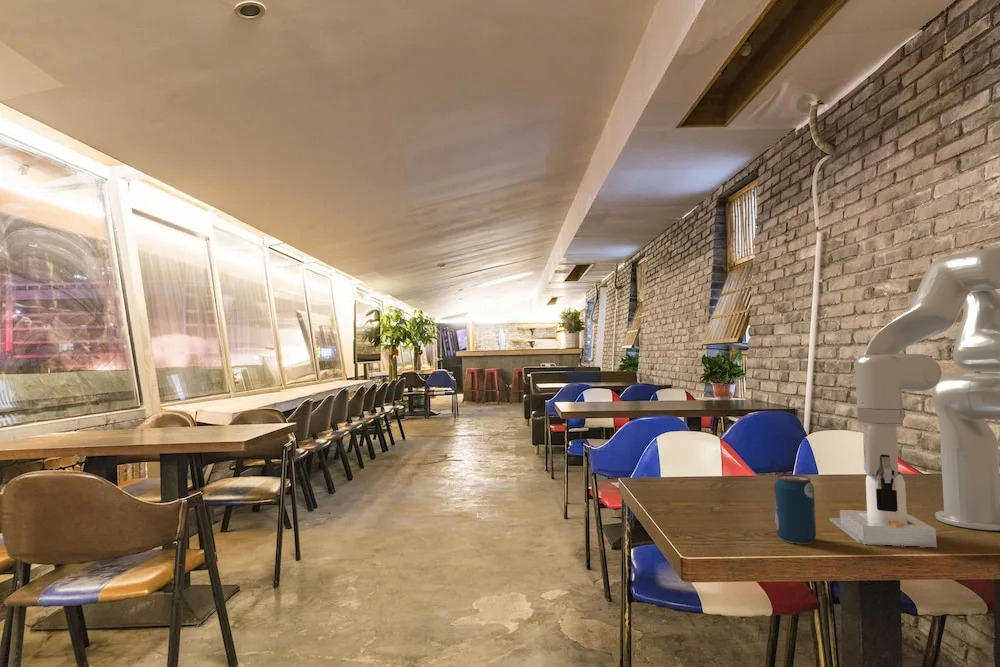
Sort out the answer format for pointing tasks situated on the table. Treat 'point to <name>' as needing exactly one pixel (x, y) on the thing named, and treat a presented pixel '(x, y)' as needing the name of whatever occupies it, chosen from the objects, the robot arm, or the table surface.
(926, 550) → the table surface
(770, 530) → the table surface
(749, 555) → the table surface
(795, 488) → the soda can
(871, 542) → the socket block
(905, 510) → the can
